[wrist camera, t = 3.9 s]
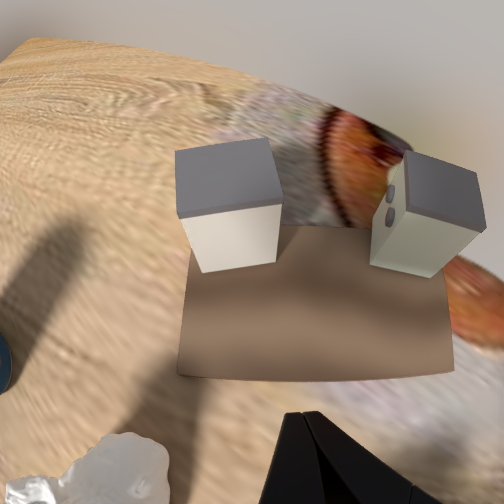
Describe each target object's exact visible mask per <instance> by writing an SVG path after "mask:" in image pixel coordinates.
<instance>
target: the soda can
mask: <svg viewBox="0 0 504 504" xmlns="http://www.w3.org/2000/svg"><path fill="white" fill-rule="evenodd" d="M11 375H12V357H11V353H10V350H9V347H8V345H7V343H6V341H5V339H4V337H3V336H2V334H1V333H0V395H1V394H2V393H3V392H4V391H5V390H6V388H7V387H8V385H9V382H10V379H11Z"/></svg>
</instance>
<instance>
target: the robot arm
mask: <svg viewBox="0 0 504 504" xmlns="http://www.w3.org/2000/svg"><path fill="white" fill-rule="evenodd" d="M412 485H413V484H412V483H411V482H410V481H408V480H407V479H406V478H404V477H403V476H401V475H400V474H399V473H397V472H396V471H395V470H393V469H392V468H391V467H389V466H388V465H386V464H385V463H384V462H382V461H381V460H380V459H378V458H377V457H376V456H374V455H373V454H372V453H371V452H369V451H368V450H367V449H365V448H364V447H363V446H361V445H360V444H359V443H358V442H356V441H355V440H354V439H353V438H351V437H350V436H349V435H347V434H346V433H345V432H344V431H342V430H341V429H340V428H339V427H337V426H336V425H335V424H334V423H333V422H331V421H330V420H329V419H328V418H326V417H325V416H324V415H323V414H322V413H320V412H319V411H309V412H303V413H300V412H293V413H286V414H285V415H284V419H283V422H282V426H281V430H280V433H279V437H278V440H277V444H276V448H275V451H274V455H273V458H272V461H271V465H270V468H269V471H268V475H267V478H266V481H265V484H264V488H263V491H262V494H261V497H260V500H259V503H258V504H444V503H442V502H440V501H438V500H437V499H435V498H434V497H432V496H431V495H429V494H427V493H426V492H424V491H423V490H421V489H420V488H419V487H417V486H416V485H413V486H412Z"/></svg>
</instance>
